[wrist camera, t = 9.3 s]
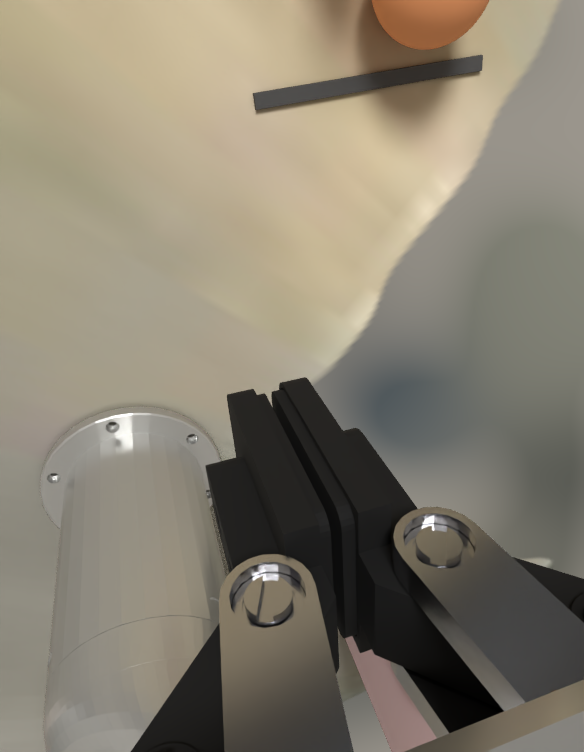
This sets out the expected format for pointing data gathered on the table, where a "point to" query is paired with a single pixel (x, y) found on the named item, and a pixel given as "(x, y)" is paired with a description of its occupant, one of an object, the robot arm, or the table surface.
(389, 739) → the greeting card
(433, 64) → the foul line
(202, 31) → the table surface
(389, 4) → the ball
